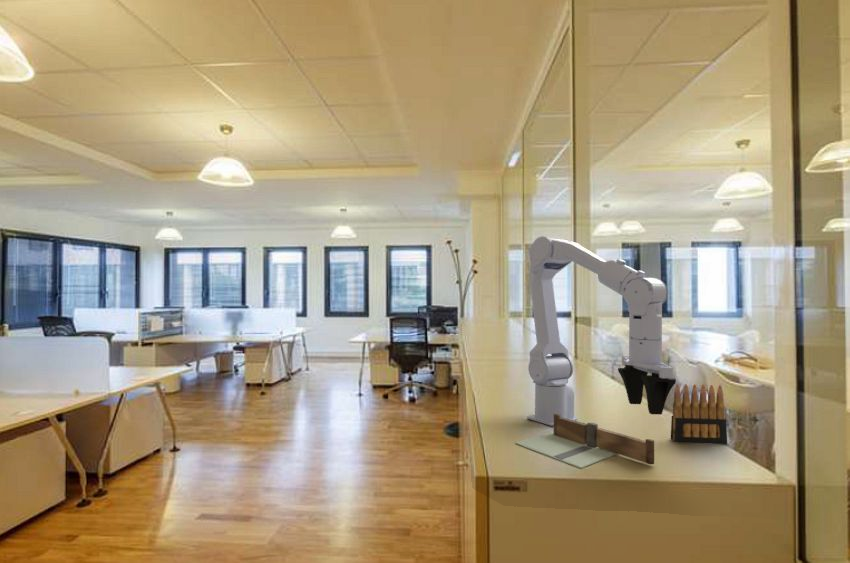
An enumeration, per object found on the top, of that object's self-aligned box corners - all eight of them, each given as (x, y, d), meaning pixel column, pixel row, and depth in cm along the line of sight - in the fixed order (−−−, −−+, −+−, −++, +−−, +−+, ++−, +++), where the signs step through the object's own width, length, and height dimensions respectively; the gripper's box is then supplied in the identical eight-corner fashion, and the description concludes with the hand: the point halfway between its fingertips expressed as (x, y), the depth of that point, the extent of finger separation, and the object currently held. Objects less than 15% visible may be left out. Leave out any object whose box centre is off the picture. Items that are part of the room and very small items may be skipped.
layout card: (561, 430, 96) (561, 428, 96) (626, 450, 84) (626, 449, 84) (515, 443, 87) (515, 442, 87) (581, 468, 75) (581, 467, 75)
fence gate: (596, 447, 84) (596, 426, 84) (600, 445, 85) (600, 425, 85) (652, 465, 75) (652, 442, 76) (655, 463, 76) (655, 440, 76)
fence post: (557, 433, 93) (557, 412, 93) (599, 447, 85) (599, 424, 85) (551, 435, 92) (551, 414, 92) (593, 449, 84) (594, 426, 84)
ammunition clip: (721, 441, 91) (721, 384, 91) (727, 444, 89) (727, 386, 89) (670, 439, 91) (670, 382, 91) (675, 442, 89) (675, 384, 90)
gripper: (607, 334, 91) (607, 399, 90) (645, 342, 76) (645, 419, 76) (640, 335, 91) (640, 399, 91) (684, 343, 77) (684, 419, 76)
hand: (644, 408), depth 83 cm, fingers open, 7 cm apart
